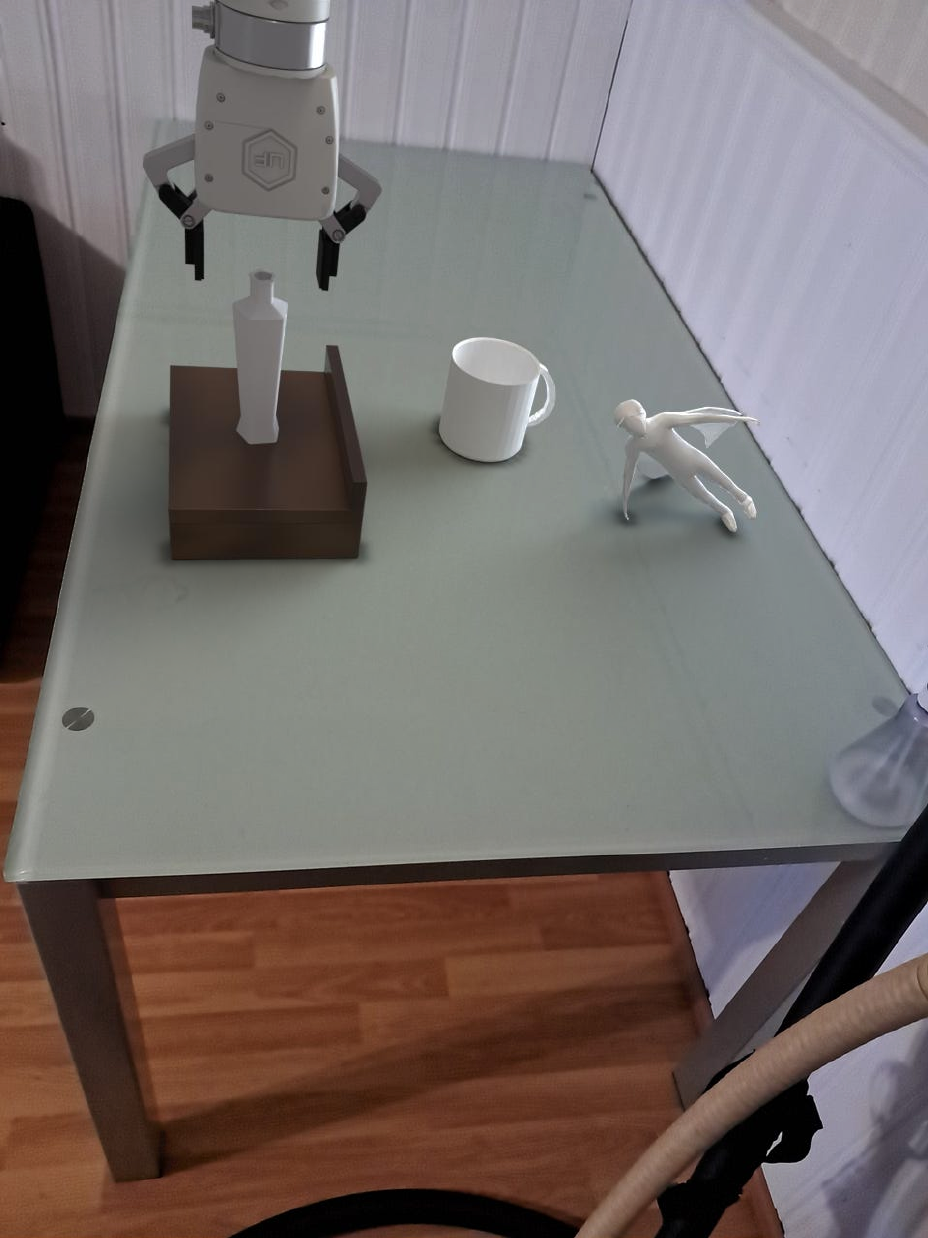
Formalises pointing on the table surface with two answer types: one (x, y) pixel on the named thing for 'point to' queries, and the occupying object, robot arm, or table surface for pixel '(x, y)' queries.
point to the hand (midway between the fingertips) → (261, 278)
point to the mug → (491, 398)
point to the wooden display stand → (264, 469)
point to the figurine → (679, 452)
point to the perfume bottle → (259, 357)
